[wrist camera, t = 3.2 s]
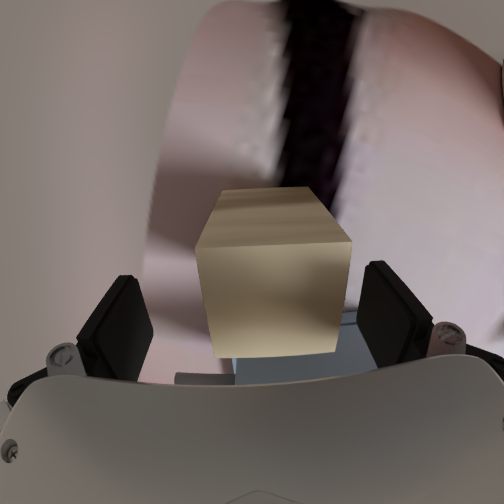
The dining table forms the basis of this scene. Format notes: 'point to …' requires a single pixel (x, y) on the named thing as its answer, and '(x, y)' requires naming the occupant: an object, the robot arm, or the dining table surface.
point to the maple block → (272, 273)
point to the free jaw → (294, 365)
